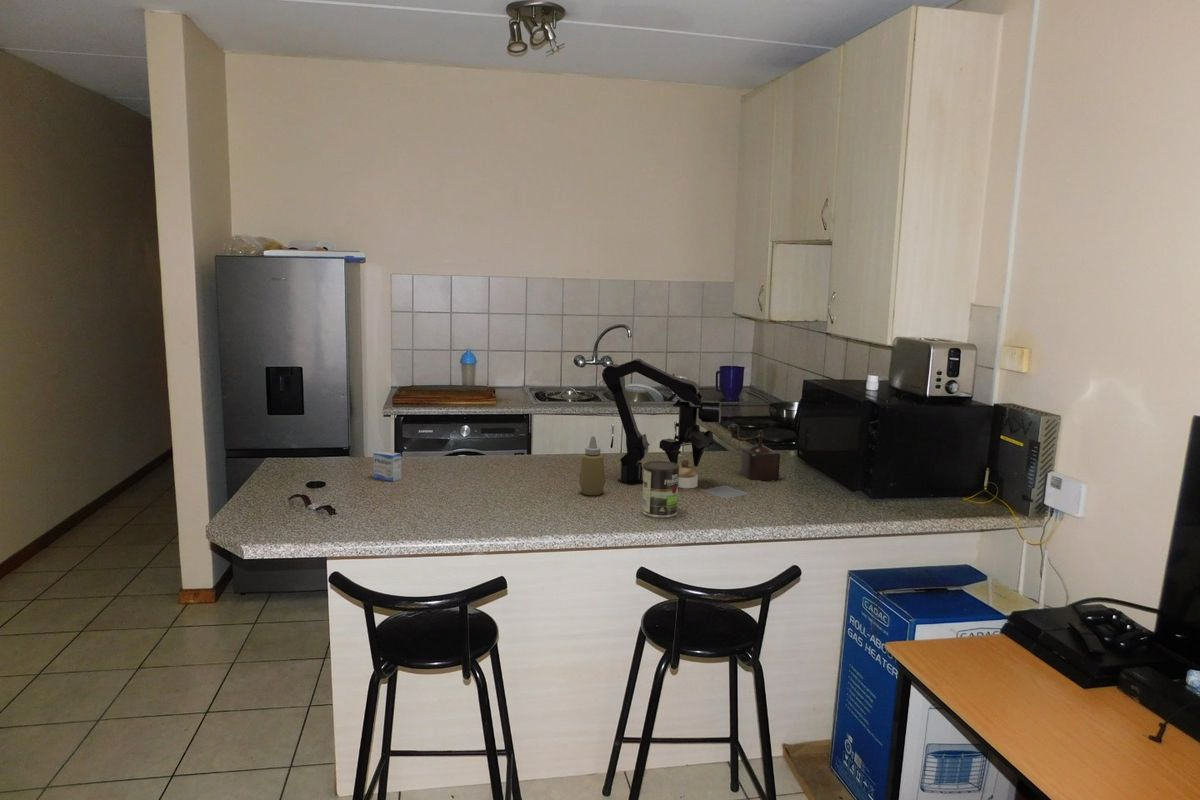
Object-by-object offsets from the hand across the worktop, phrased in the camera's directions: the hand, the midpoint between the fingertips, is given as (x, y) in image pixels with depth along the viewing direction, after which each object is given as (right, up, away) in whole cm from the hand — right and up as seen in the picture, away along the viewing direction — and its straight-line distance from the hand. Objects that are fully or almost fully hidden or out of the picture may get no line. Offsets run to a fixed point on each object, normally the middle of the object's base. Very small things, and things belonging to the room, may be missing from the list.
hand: (685, 468), depth 256 cm
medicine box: (-96, -4, +2) cm, 96 cm away
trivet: (+12, -7, -6) cm, 15 cm away
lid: (0, -2, 0) cm, 2 cm away
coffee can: (-10, -11, -26) cm, 30 cm away
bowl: (0, -6, +1) cm, 6 cm away
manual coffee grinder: (+24, -5, +14) cm, 28 cm away
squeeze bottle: (-30, -7, -9) cm, 32 cm away
